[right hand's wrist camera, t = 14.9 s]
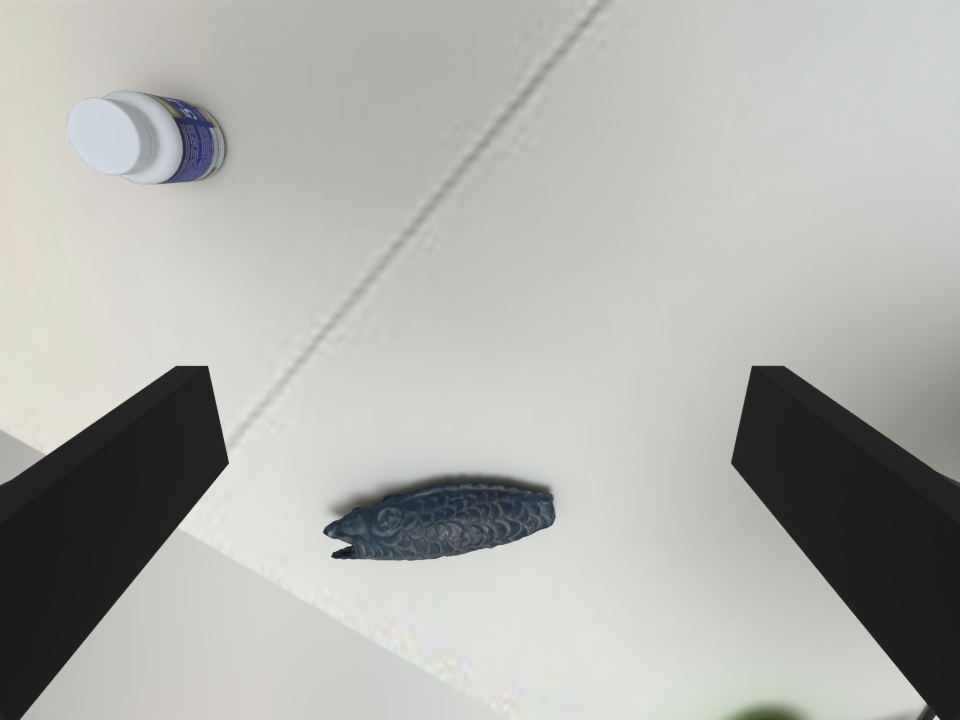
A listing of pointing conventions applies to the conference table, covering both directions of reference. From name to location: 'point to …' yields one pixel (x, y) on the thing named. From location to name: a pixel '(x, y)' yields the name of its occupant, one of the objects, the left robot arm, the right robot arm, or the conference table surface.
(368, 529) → the fish model
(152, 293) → the conference table surface
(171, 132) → the pill bottle
